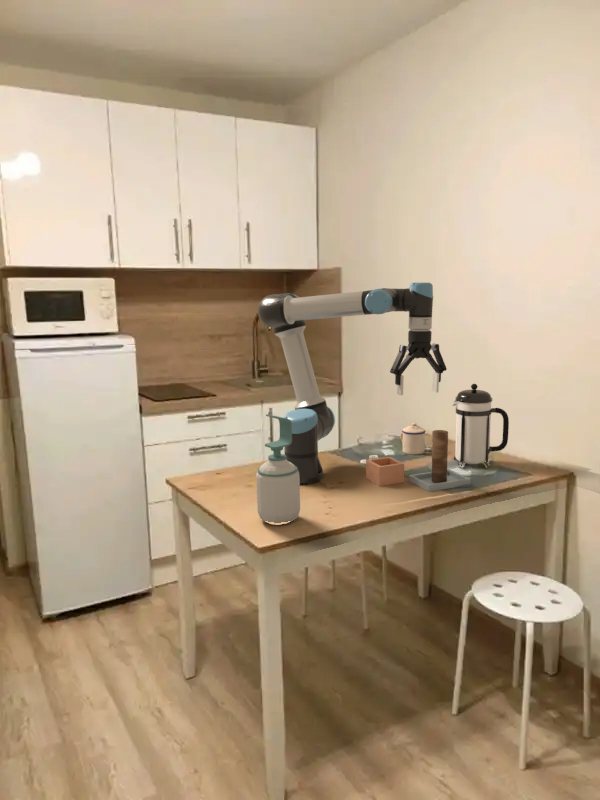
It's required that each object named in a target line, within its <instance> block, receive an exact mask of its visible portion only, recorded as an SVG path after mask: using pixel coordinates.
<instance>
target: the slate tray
mask: <svg viewBox="0 0 600 800" xmlns="http://www.w3.org/2000/svg"><path fill="white" fill-rule="evenodd" d="M408 481H409V482H411V484H414V485H416V486H417V487H420V488H421V489H423V490H425V491H426V492H429V493H430V492H434V491H440V490H446V489H452V488H459V487H464V488H467V487H471V478H469V477H467V476H466V475H463V474H460V473H459V472H456V471H454V470H452V469H450V468H447V482H442V483H433V482H432V471H428V472H422V473H414V474H409V475H408Z"/></svg>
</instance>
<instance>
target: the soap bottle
mask: <svg viewBox="0 0 600 800" xmlns="http://www.w3.org/2000/svg"><path fill="white" fill-rule="evenodd" d="M265 417H269V418H273V419H277V420H278V423H279V438H278V440H275V441H271V442H267V443H264V447H267V448H269V449H270V450H271V451H272V452H273V454H269V455H268V456H267V457H268V459H267V461H265V462H264V463H262V464H261V466H259V467H258V468H257V470H256V471H257V472H256V475H255V476H256V503H257V505H256V506H257V513H258V517H259V518H260V520H261V519H262V520H261V521H263V520H264V521H268V522H274V523H281V522H288V521H292V520H294V521H295V519H296V520H297V519H298V518H299V514H300V512H301V511H300V510H301V493H300V492H301V488H300V485H301V484H300V478H299V472H298V468H297V467H296V466H295V465H294V464H292V463H291V462H289V461H287V460H286V455H285V453H284V454H283V453H282V451H283V450H284V447H286V446H289V445H291V443H292V423H291V421H290V420H289V419H286V418H284V417H282V416H277V415H272V414H266V413H265ZM264 521H263V522H264Z"/></svg>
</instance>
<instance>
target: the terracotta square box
mask: <svg viewBox="0 0 600 800" xmlns="http://www.w3.org/2000/svg"><path fill="white" fill-rule="evenodd" d="M365 460H366V464H365V479H367V480H368V481H370V482H371V483H373V484H375V485H377V486H378V487H382V486H389V485H396V484H401V483H402V484H403V483H405V463H403V462H402V461H399V460H398V459H396V458H395V457H391V456H387V457H386V456H385V457H378V458H377V459H369V458H368V459H365Z"/></svg>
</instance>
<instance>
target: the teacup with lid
mask: <svg viewBox="0 0 600 800" xmlns="http://www.w3.org/2000/svg"><path fill="white" fill-rule="evenodd" d="M425 437H426V429H425V428H423V427H421V426H419V425H417V423H416V422H411V425H408V426H406V427H404V428H402V430H401V432H400V440H401V442H402V452H403V453H404V454H407V455H421V454H424V453H425V450H426V449H425V447H426V446H425V444H426V443H425V442H426V438H425Z"/></svg>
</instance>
